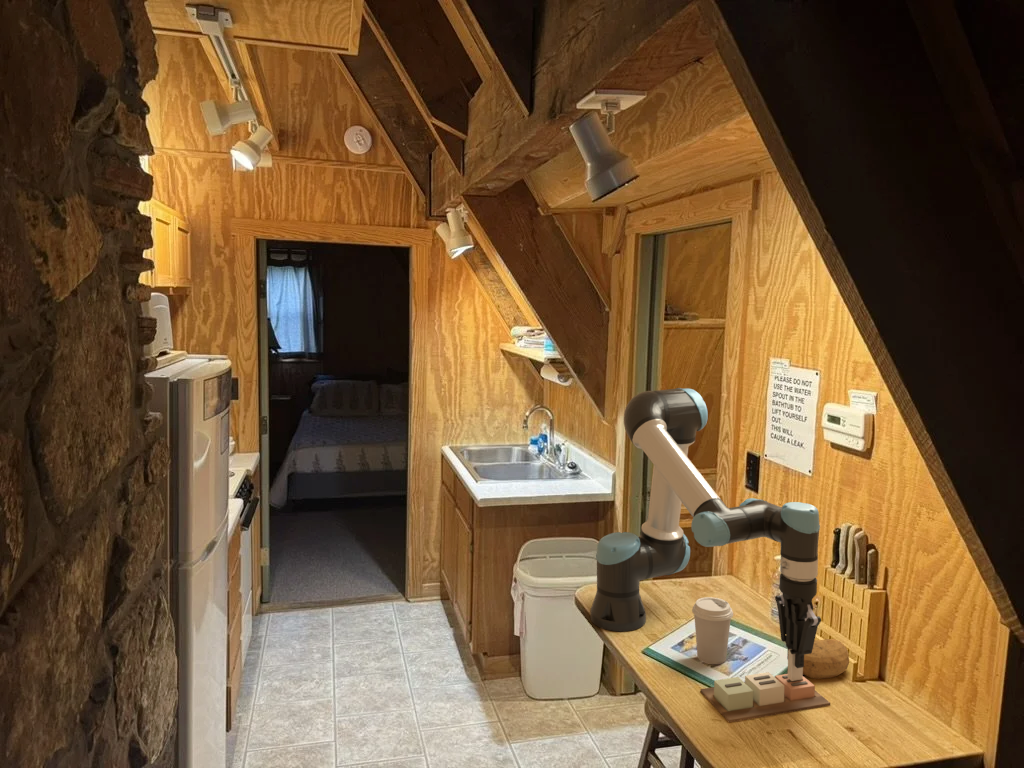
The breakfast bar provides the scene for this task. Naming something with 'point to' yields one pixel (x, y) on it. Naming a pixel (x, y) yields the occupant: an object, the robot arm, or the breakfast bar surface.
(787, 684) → the tile
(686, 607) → the breakfast bar surface
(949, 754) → the breakfast bar surface
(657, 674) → the breakfast bar surface
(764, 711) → the board
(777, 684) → the tile
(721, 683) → the slotted block
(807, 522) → the robot arm
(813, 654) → the potato
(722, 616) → the coffee cup
